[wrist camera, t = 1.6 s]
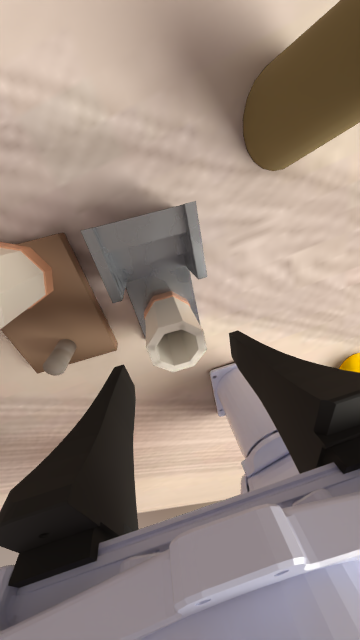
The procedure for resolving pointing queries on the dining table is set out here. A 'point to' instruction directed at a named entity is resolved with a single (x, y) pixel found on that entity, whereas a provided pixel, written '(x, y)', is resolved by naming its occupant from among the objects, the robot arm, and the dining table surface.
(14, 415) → the dining table surface
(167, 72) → the dining table surface
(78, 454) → the robot arm
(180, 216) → the grey metal bracket
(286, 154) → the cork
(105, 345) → the pin board
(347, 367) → the element tile
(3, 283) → the sleeve
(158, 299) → the sleeve
